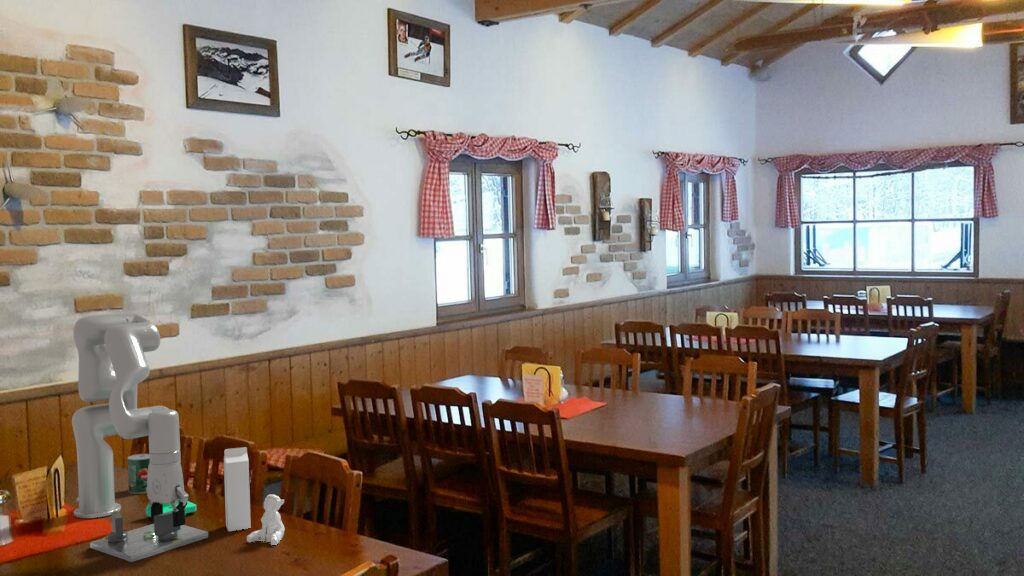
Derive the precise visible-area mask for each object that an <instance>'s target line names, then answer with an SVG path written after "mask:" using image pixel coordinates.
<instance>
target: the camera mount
mask: <svg viewBox="0 0 1024 576" xmlns="http://www.w3.org/2000/svg"><path fill="white" fill-rule="evenodd" d="M160 504H162V503H160ZM178 504H179V502H178V503H176V505H178ZM170 511H173V507H172V505H171V503H170V504H163V513H166V512H170ZM196 511H197V504H195V503H193V502H190V501H189V500H188V501H187V505H186V509H185V516H187V514H189V513H192V512H196ZM145 515H146V516H148V517H150V518H151V506H150V505H149V503H148V504H147V506H146V507H145Z"/></svg>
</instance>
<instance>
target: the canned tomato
mask: <svg viewBox="0 0 1024 576" xmlns="http://www.w3.org/2000/svg"><path fill="white" fill-rule="evenodd" d="M149 463H150V457H149V453H137V454H132V455H130V456H128V457H127V475H128V476H127V479H128V483H127V484H128V493H130V494H131V495H134V494H135V495H138V494H139V495H141V494H142V495H143V494H147V492H146V487H147V478H148V467H149Z"/></svg>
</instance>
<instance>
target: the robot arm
mask: <svg viewBox="0 0 1024 576" xmlns="http://www.w3.org/2000/svg"><path fill="white" fill-rule="evenodd" d="M73 340H74V344H75V347H76V350H77V354H78V383H77V385H78V387H77V389H78V395H79V397H80V399H81V400H82V401H84V402H86V403H95V402H104V401H108V403H100V404H93V405H88V406H84V407H81V408H78V409H77V410H76V411H75V412H74V413H73V415H72V418H71V426H72V431H73V435H74V439H75V447H76V458H77V459H76V460H77V478H78V479H77V481H78V484H77V485H78V497H77V498H76V502H77V503H78V504H79V505H78V506H79V507H78V508H76V509H74V510H73V516H74V517H75V516H76V518H78V517H79V518H80V519H96V518H97V517H98V518H103V517H107V516H111V513H112V512H113V510H118V511H119V512H120V511H121V509H122V506H121V504H120V503H117V502H116V500H115V499H116V493H115V474H114V473H115V469H114V468H115V467H114V452H113V449H112V447H111V446H110V445H109V443H108V442H107V441H105V439H104V438H105V437H109V436H115V435H116V436H117V435H118V436H119V437H120V438H121V439H125V440H130V439H138V438H142V437H148V450H149V451H148V454H149V457H150V463H149V467H148V478H147V487H146V492H147V493H146V494H147V499H148V501H149V502H148V504H149V505H150V506H151V517H150V521H151V522H153V523H154V516H155V515H159V514H162V513H163V504H170V503H171V505H172V507H173V509H174V512H173V527H178V526H181V525H186V517H185V509H186V505H187V501H189V497H190V496H189V494H188V493H187V492H186V491H185V485H184V475H183V470H182V469H183V468H182V464H181V462H182V461H181V441H180V439H181V437H180V436H181V434H180V418H179V416H180V415H179V413H178V411H176V410H175V409H170V408H169V407H166V406H165V405H154V406H146V407H139V408H138V385H139V384H140V383H143V381H144V380H146V379H147V378H148V377H149V375H150V373H151V371H150V370H151V369H150V366H149V363H148V360H147V358H146V355H145V353H150V352H154V351H157V350H158V349H159V347H160V345H161V334H160V331H159V329H158V327H157V326H156V325H155V323H154V322H152V321H150V320H149V319H147V318H145V317H143V316H141V315H140V314H137V313H134V312H133V313H132V312H128V313H125V312H124V313H109V314H96V315H95V314H94V315H88V316H84V317H83V316H82V317H81V318H79V319H77V321H75V323H74V326H73ZM178 502H179V504H178V505H176V503H178ZM160 503H162V504H160ZM79 518H78V519H79ZM98 518H97V519H98Z"/></svg>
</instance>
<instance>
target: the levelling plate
mask: <svg viewBox="0 0 1024 576" xmlns="http://www.w3.org/2000/svg"><path fill="white" fill-rule="evenodd" d="M180 527H181V530H177V531H178V537H177V538H176V539H173V540H169V541H160V540H158V536H156V535H155V533H154V523H151V524H149V525H148V524H147V525H144V526H142V527H138V528H134V529H131V530H128V531H126V532H128V539H127V540H125V541H122V542H116V543H111V542H108V535H107V536H104V537H103V538H101V539H100V538H99V539H96V540H93V541H90V542H89V546H90V547H89V548H90V549H91V550H92V549H93V550H95V551H98V552H101V553H103V554H106V555H110V556H113V557H116V558H119V559H121V560H124V561H127V562H130V563H133V562H136V561H140V560H142V559H145V558H148V557H152V556H156V555H158V554H161V553H164V552H167V551H171V550H173V549H176V548H180V547H183V546H186V545H189V544H193V543H196V542H198V541H202V540H204V539H207V538H209V531H207V530H202V529H200V528H195V527H192V526H188V525H186V524H184V525H181V526H180Z"/></svg>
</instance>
